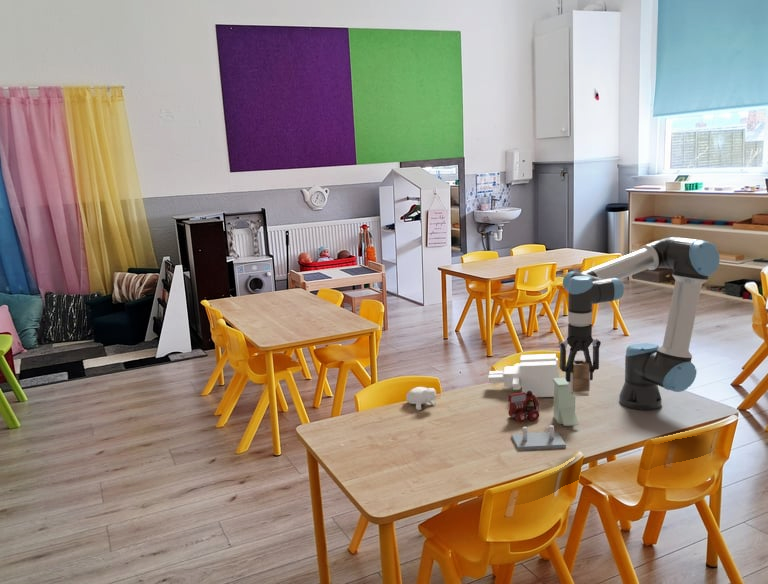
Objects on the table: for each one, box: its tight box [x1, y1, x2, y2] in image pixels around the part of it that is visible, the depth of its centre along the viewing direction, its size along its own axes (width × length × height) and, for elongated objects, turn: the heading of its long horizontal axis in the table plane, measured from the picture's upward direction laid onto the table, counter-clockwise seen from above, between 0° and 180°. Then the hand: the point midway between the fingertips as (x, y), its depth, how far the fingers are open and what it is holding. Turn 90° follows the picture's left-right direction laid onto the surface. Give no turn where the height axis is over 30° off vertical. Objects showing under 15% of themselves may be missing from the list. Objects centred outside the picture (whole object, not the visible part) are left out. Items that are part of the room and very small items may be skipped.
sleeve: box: [569, 359, 590, 397], centre depth 217 cm, size 5×5×11 cm
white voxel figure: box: [487, 353, 560, 398], centre depth 264 cm, size 15×25×28 cm
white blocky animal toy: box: [405, 386, 437, 411], centre depth 254 cm, size 9×8×15 cm
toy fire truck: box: [507, 391, 540, 424], centre depth 238 cm, size 7×12×10 cm, turn 109°
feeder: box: [553, 377, 579, 427], centre depth 233 cm, size 7×12×15 cm, turn 2°
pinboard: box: [510, 425, 567, 451], centre depth 219 cm, size 16×10×6 cm, turn 92°
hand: (578, 389), depth 218 cm, fingers closed on sleeve, 5 cm apart
